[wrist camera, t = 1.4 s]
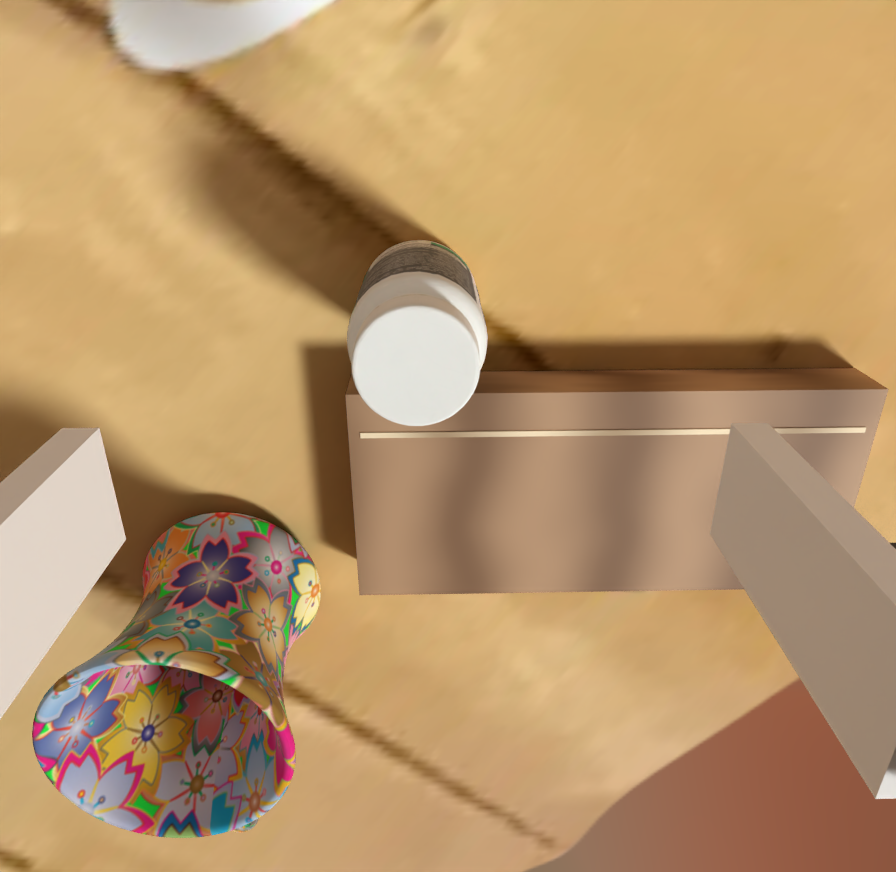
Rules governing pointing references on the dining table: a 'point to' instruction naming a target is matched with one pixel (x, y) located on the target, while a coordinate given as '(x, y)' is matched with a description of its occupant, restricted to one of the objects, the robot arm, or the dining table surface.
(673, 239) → the dining table surface
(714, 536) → the robot arm
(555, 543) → the board
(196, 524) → the mug
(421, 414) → the pill bottle
